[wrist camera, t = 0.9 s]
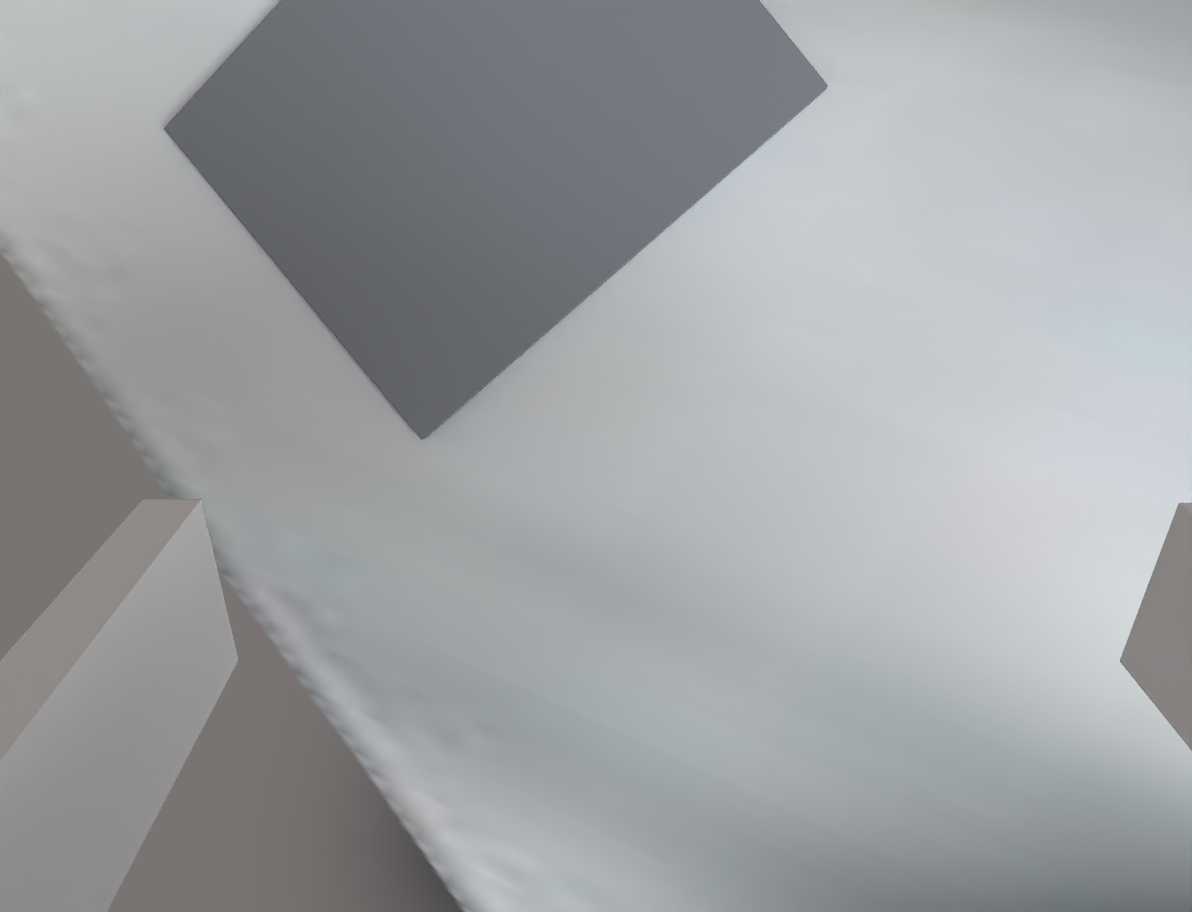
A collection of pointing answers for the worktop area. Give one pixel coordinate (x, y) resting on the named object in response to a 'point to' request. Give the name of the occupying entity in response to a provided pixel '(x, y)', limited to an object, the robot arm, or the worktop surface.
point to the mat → (479, 160)
